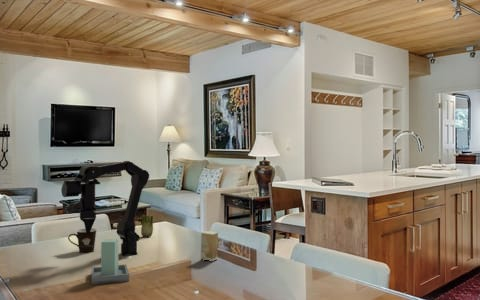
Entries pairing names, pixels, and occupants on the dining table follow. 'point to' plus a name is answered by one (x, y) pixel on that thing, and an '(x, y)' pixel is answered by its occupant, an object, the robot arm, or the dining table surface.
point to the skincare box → (209, 245)
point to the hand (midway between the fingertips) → (87, 231)
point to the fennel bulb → (147, 226)
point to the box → (120, 277)
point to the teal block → (109, 257)
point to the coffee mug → (85, 240)
